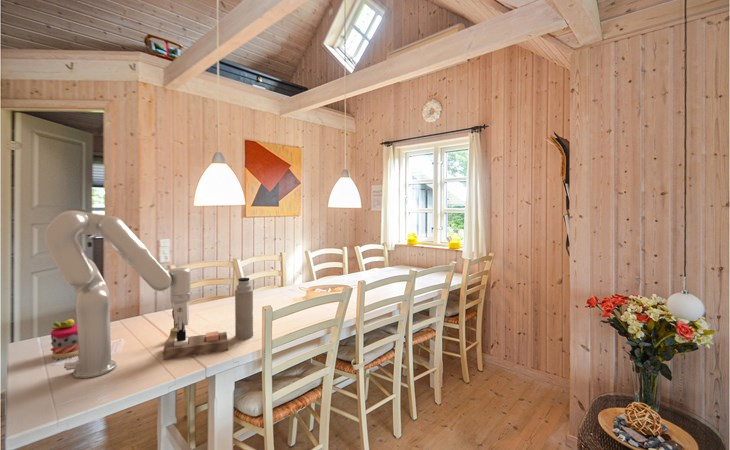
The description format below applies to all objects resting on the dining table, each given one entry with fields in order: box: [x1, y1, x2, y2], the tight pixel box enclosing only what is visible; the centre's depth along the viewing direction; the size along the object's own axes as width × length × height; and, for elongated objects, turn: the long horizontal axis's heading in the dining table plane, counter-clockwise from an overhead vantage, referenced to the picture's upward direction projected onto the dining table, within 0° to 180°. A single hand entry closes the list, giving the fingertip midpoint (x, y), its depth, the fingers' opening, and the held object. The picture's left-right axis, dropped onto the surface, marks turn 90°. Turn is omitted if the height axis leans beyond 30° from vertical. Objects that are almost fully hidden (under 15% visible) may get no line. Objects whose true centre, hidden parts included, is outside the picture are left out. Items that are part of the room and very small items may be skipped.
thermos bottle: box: [234, 277, 254, 340], centre depth 163 cm, size 8×8×28 cm
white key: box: [174, 336, 189, 346], centre depth 145 cm, size 5×5×3 cm
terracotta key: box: [205, 330, 219, 342], centre depth 150 cm, size 5×5×3 cm
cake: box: [50, 318, 78, 360], centre depth 141 cm, size 10×10×15 cm
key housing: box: [162, 331, 229, 361], centre depth 148 cm, size 24×12×4 cm, turn 115°
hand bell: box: [166, 306, 177, 340], centre depth 157 cm, size 8×8×16 cm
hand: (181, 340), depth 145 cm, fingers closed
